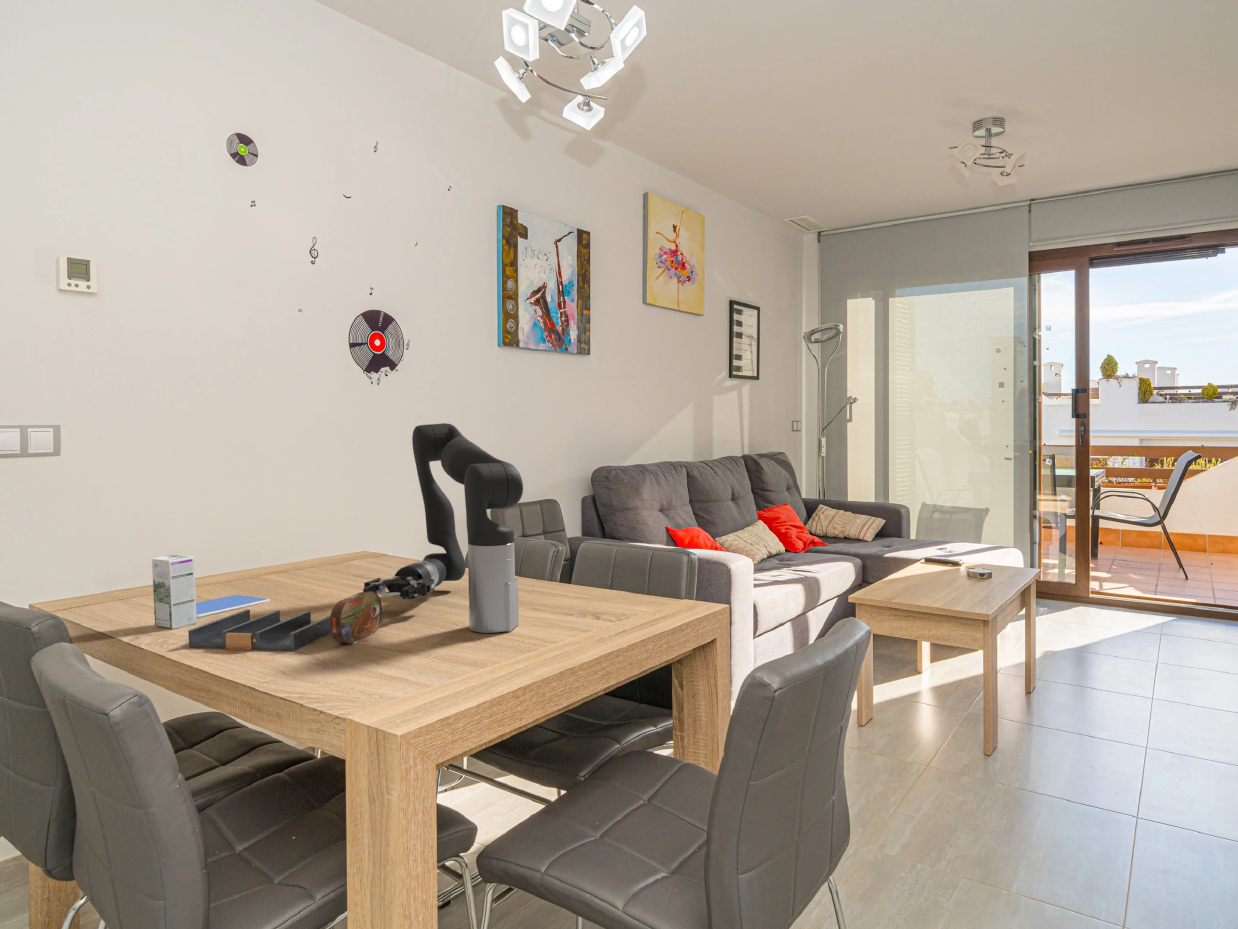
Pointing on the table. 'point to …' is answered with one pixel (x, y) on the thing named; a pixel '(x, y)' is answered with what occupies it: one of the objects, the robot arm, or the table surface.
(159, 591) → the syrup box
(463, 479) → the robot arm
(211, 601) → the tablet computer
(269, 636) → the rack
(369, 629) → the tin
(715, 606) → the table surface
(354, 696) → the table surface
